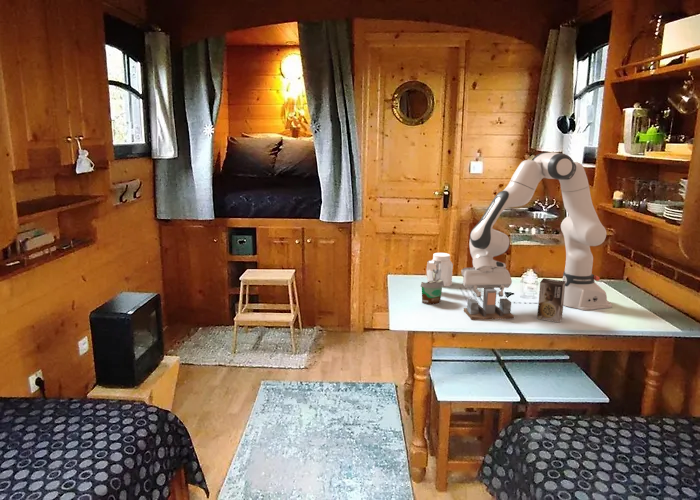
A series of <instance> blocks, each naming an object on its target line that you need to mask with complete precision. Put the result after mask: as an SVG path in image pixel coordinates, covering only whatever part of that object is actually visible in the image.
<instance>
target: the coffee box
mask: <svg viewBox="0 0 700 500" xmlns="http://www.w3.org/2000/svg"><path fill="white" fill-rule="evenodd" d="M564 292H565V281H563V280H558V279H552V278H542V279H541V281H540V282H539V291H538V293H539V294H538V304H537V305H538V306H537V315H536V316H537V317H536V319H538V320H543V321H550V322H554V323H560V322H561V321H562V319H563V312H564V311H563V310H564V305H563V303H564Z"/></svg>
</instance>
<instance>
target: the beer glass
mask: <svg viewBox="0 0 700 500" xmlns="http://www.w3.org/2000/svg"><path fill="white" fill-rule="evenodd" d="M441 263H442V262H441V261H438V260H432V259H429V260H428V261H427V264H426V279H427V282H429V281H435V280H438V278H441V272H442V264H441Z"/></svg>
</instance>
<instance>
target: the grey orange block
mask: <svg viewBox="0 0 700 500" xmlns="http://www.w3.org/2000/svg"><path fill="white" fill-rule="evenodd" d="M497 293H498V292H497V289H496V288H483V297H482V298H483V299H482V308H483V309H484V310H485V311H486V314H495V305H496V303H497V302H496V301H497ZM496 306H497V305H496Z"/></svg>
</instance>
